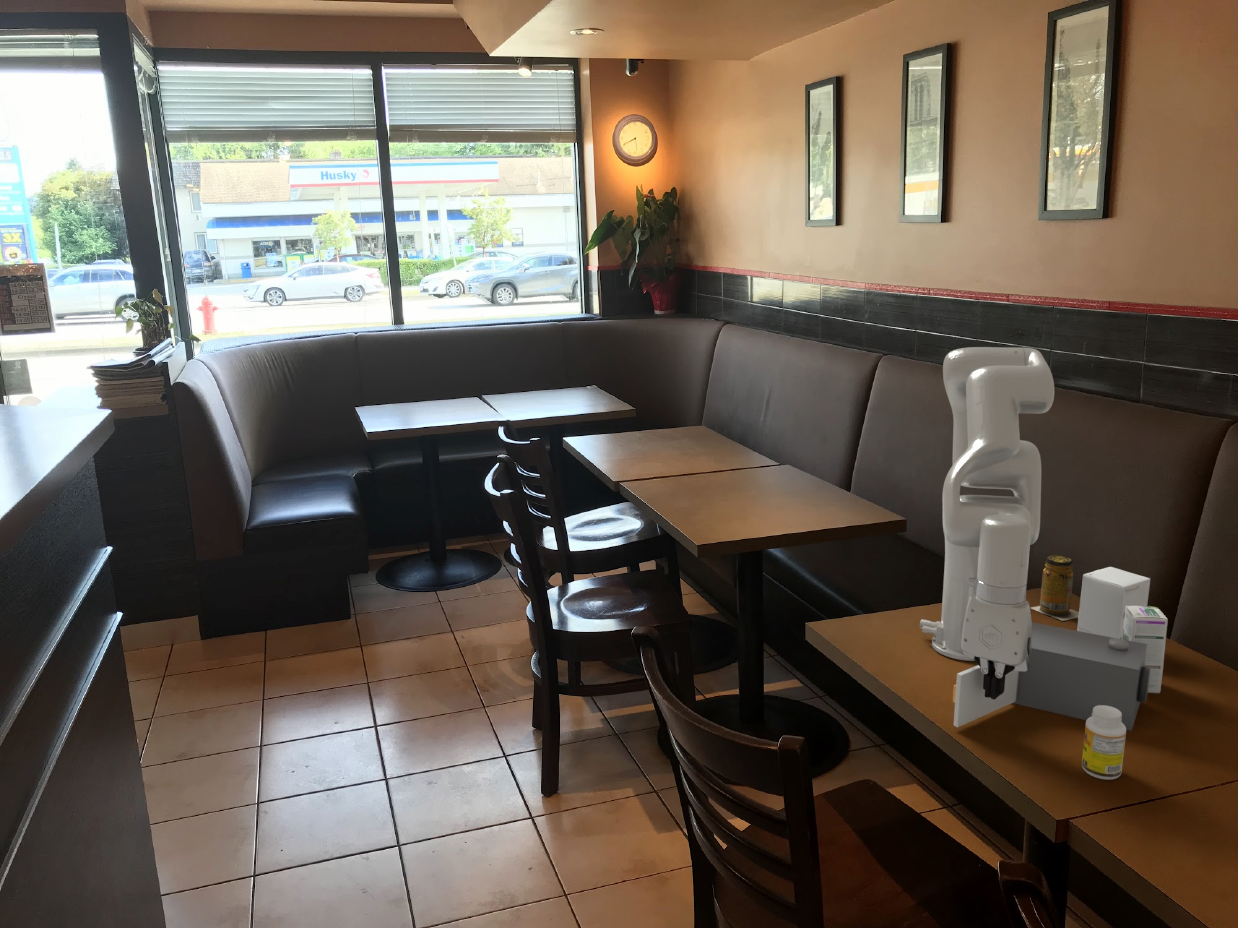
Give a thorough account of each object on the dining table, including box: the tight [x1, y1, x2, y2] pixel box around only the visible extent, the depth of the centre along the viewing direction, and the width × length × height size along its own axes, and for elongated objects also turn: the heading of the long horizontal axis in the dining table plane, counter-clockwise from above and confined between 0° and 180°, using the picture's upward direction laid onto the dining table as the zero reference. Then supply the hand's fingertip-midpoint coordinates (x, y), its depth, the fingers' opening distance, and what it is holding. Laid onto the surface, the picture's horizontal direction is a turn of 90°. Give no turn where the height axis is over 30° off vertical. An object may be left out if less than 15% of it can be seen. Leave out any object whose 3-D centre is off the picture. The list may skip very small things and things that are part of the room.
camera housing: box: [1012, 621, 1150, 732], centre depth 170 cm, size 21×12×12 cm, turn 56°
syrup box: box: [1122, 605, 1169, 694], centre depth 175 cm, size 6×6×14 cm
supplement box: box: [1076, 566, 1151, 639], centre depth 192 cm, size 9×9×15 cm
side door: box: [952, 662, 1019, 728], centre depth 166 cm, size 16×2×9 cm, turn 124°
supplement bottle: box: [1081, 705, 1127, 781], centre depth 148 cm, size 6×6×10 cm
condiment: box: [1030, 555, 1079, 621], centre depth 210 cm, size 7×8×12 cm
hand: (993, 695), depth 161 cm, fingers closed
